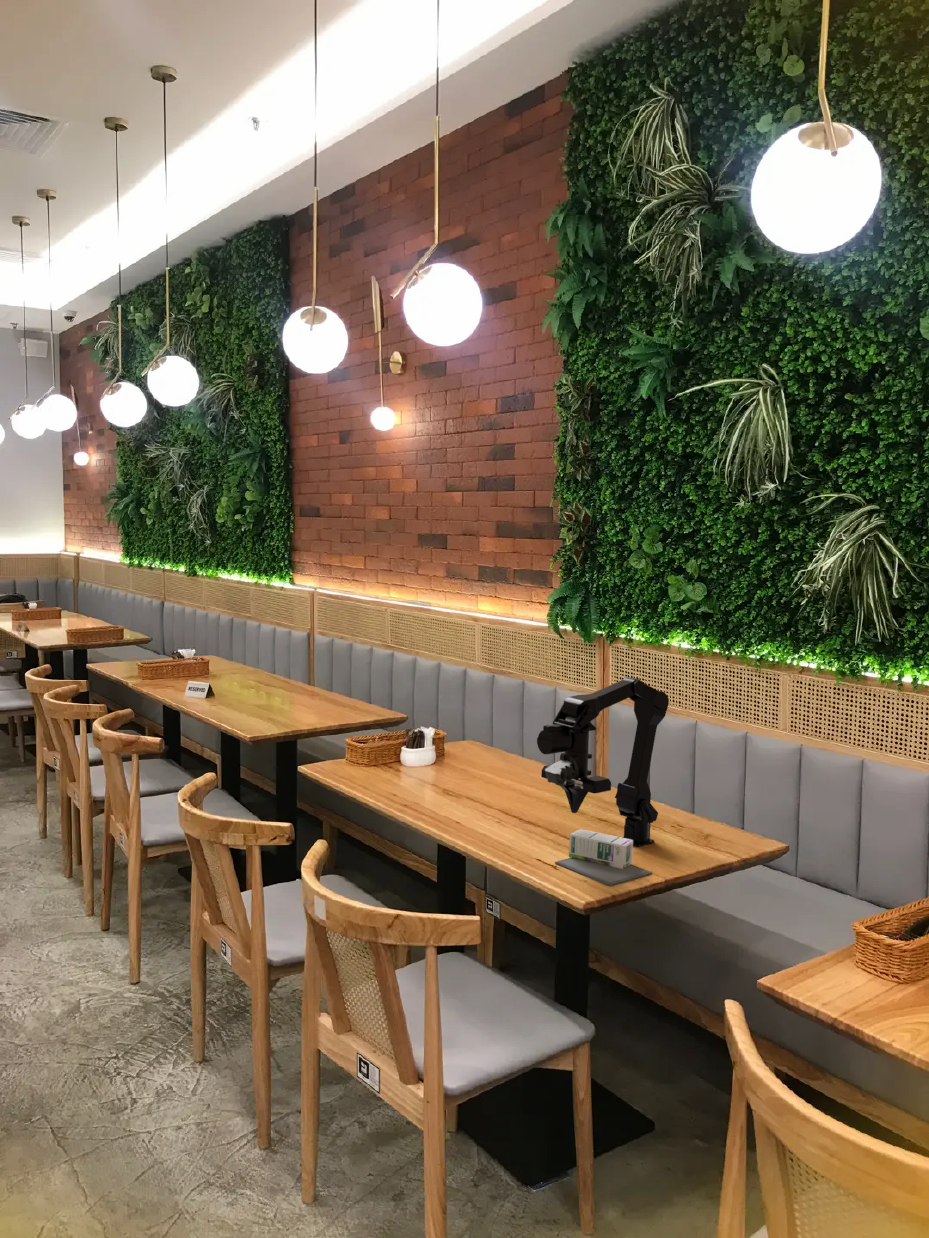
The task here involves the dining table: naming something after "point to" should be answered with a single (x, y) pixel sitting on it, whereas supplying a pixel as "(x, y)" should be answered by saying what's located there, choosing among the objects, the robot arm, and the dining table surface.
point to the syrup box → (601, 848)
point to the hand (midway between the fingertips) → (574, 812)
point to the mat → (603, 871)
